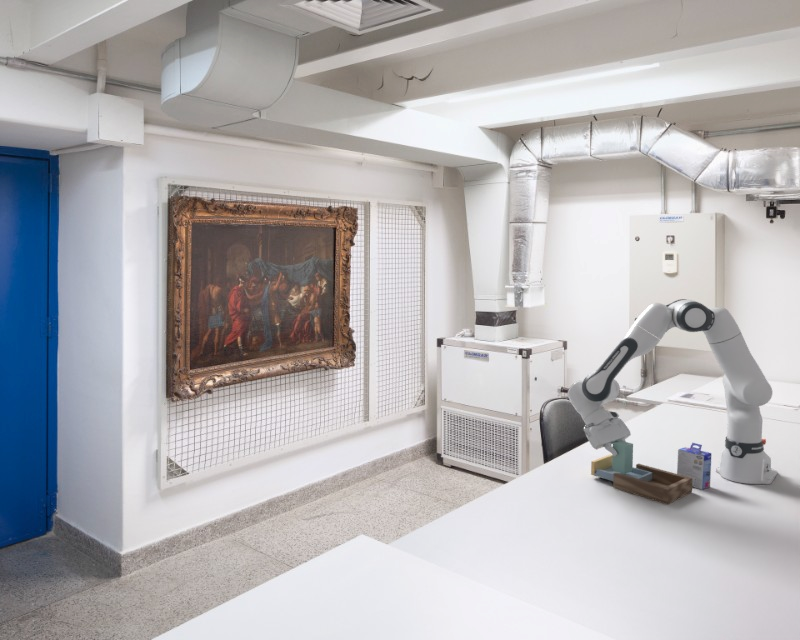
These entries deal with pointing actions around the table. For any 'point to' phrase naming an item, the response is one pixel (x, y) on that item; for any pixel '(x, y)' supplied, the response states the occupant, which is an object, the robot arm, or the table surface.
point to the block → (623, 457)
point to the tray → (604, 470)
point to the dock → (655, 485)
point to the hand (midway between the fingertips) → (621, 453)
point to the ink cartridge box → (695, 465)
